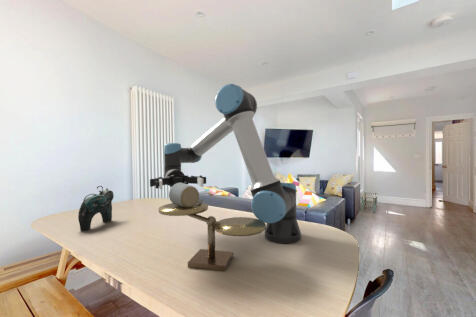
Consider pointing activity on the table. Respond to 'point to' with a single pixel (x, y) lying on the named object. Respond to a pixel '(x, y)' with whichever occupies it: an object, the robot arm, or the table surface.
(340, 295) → the table surface
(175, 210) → the balance
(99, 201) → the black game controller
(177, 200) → the ceramic mug
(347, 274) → the table surface
